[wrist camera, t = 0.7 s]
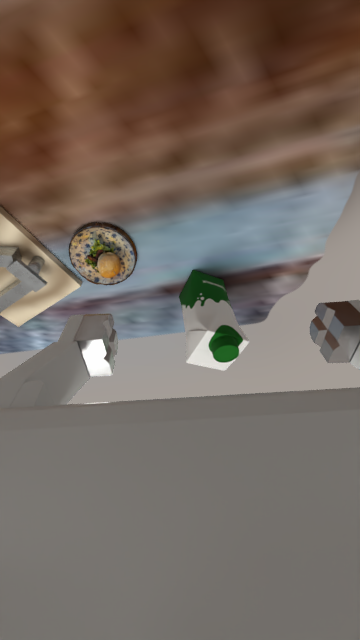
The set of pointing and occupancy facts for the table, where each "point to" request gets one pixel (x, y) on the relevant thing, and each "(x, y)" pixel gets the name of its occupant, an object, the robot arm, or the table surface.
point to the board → (60, 279)
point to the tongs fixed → (22, 281)
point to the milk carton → (210, 323)
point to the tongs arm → (9, 255)
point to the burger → (103, 253)
